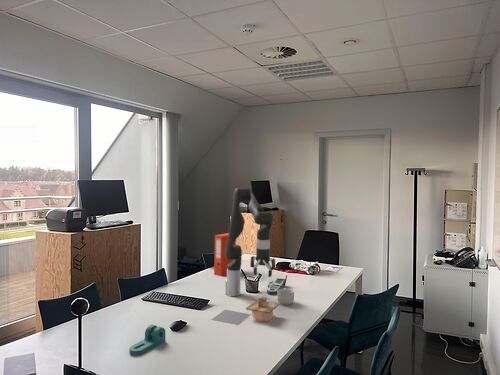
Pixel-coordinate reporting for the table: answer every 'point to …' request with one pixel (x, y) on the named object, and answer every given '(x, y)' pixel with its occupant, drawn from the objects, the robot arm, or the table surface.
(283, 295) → the teacup
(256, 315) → the bowl
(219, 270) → the file binder
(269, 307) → the lid
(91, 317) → the table surface
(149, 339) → the bracket
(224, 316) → the mat
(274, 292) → the communication device
